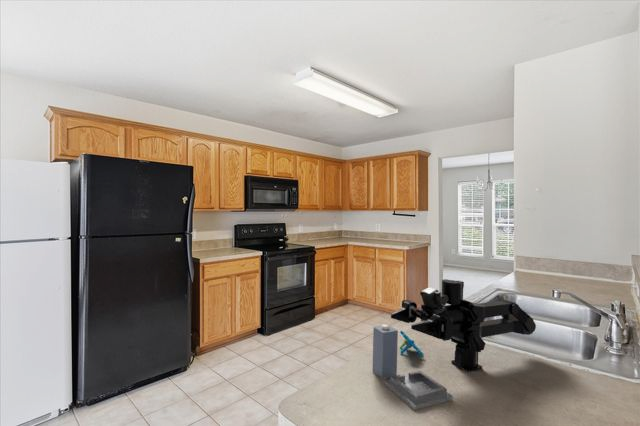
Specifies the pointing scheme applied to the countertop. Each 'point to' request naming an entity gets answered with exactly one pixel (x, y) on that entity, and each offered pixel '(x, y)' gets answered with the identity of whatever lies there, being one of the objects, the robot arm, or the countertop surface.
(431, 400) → the grey square tray
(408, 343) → the gear
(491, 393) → the countertop surface
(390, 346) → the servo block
